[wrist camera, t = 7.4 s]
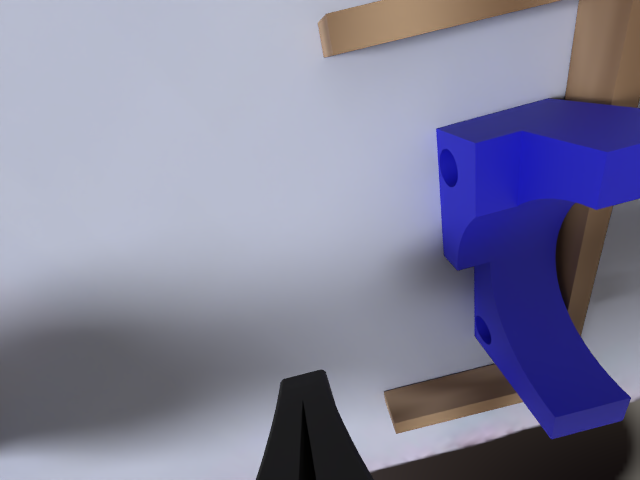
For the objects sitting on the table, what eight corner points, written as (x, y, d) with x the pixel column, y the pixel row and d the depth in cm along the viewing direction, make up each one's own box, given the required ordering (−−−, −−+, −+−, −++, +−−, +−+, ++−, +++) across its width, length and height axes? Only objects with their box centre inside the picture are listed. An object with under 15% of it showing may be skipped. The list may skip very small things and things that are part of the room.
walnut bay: (385, 401, 20) (396, 433, 18) (317, 23, 11) (326, 13, 9) (541, 362, 20) (567, 390, 18) (614, -49, 11) (682, -73, 9)
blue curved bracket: (434, 127, 13) (545, 169, 8) (545, 98, 13) (733, 118, 8) (447, 340, 19) (515, 448, 13) (523, 320, 19) (622, 420, 13)
